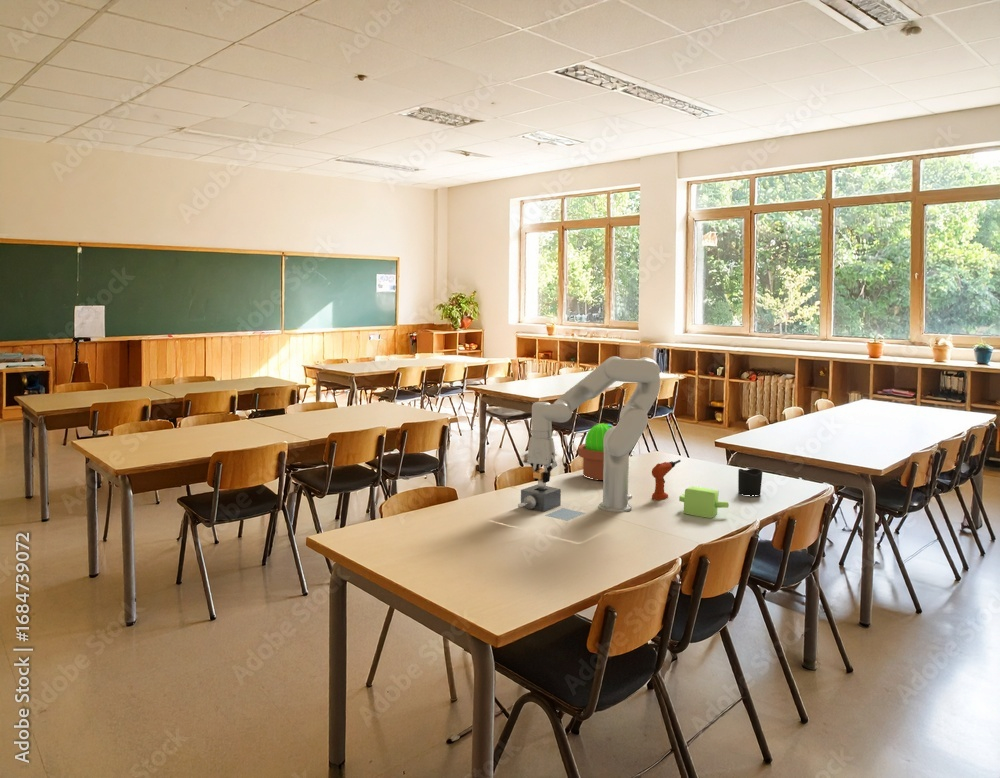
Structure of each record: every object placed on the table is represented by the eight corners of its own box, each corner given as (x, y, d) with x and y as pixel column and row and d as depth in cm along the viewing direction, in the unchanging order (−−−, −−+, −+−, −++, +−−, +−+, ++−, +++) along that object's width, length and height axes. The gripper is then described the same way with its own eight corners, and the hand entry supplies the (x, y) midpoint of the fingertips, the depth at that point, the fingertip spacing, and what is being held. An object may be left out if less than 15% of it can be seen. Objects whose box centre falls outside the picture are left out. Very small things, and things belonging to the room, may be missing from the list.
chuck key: (543, 490, 289) (542, 468, 288) (550, 492, 286) (550, 469, 285) (533, 494, 284) (533, 471, 283) (540, 495, 281) (540, 473, 280)
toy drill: (686, 489, 307) (684, 454, 304) (659, 503, 295) (657, 467, 292) (676, 486, 311) (674, 452, 308) (649, 500, 299) (647, 465, 296)
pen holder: (756, 498, 299) (758, 474, 298) (734, 494, 305) (735, 471, 304) (764, 493, 307) (765, 470, 306) (741, 489, 312) (743, 466, 311)
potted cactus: (570, 479, 330) (571, 423, 326) (588, 468, 349) (589, 416, 346) (617, 485, 319) (619, 428, 316) (633, 474, 339) (635, 420, 335)
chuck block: (537, 501, 294) (537, 484, 293) (560, 506, 287) (560, 488, 286) (507, 512, 279) (507, 494, 278) (531, 517, 272) (531, 499, 271)
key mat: (563, 509, 283) (563, 508, 283) (585, 514, 277) (585, 513, 276) (544, 516, 274) (544, 515, 274) (567, 521, 267) (567, 520, 267)
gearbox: (730, 515, 278) (732, 490, 277) (723, 521, 270) (725, 495, 269) (683, 507, 287) (685, 483, 286) (675, 512, 279) (677, 487, 278)
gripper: (518, 433, 285) (519, 479, 287) (553, 438, 274) (554, 486, 276) (530, 430, 290) (530, 476, 293) (565, 435, 280) (565, 482, 282)
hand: (542, 480), depth 285 cm, fingers closed on chuck key, 3 cm apart
